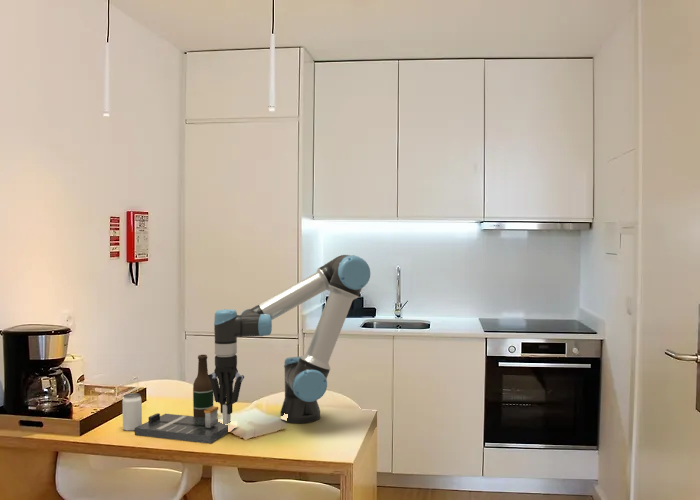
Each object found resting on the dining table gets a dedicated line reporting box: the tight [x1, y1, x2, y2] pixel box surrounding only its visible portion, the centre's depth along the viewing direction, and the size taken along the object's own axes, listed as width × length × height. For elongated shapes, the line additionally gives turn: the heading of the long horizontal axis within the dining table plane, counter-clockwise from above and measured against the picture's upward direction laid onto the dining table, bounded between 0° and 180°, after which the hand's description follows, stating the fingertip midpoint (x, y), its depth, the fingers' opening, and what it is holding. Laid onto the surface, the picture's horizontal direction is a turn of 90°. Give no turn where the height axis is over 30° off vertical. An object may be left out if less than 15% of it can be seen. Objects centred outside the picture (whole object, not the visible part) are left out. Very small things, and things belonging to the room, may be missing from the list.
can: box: [122, 392, 143, 432], centre depth 224 cm, size 6×6×12 cm
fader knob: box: [204, 405, 219, 428], centre depth 217 cm, size 2×5×6 cm, turn 161°
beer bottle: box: [192, 354, 214, 417], centre depth 235 cm, size 8×8×24 cm
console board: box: [134, 412, 229, 445], centre depth 220 cm, size 30×18×4 cm, turn 71°
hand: (226, 422), depth 215 cm, fingers closed
